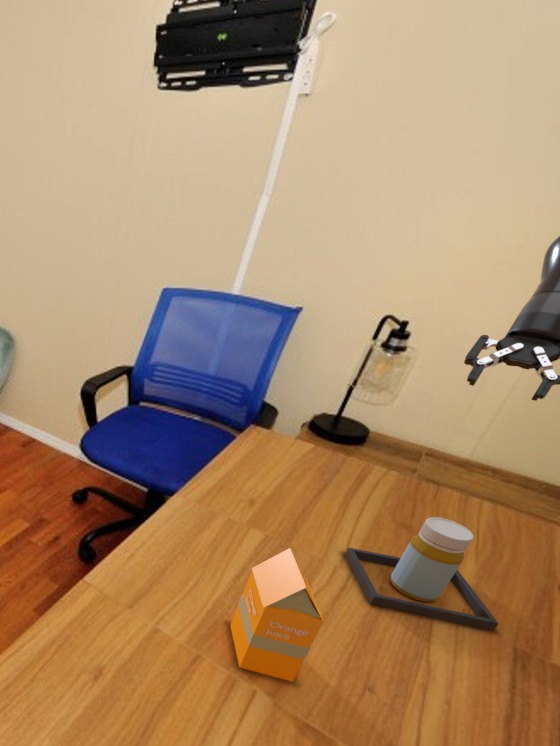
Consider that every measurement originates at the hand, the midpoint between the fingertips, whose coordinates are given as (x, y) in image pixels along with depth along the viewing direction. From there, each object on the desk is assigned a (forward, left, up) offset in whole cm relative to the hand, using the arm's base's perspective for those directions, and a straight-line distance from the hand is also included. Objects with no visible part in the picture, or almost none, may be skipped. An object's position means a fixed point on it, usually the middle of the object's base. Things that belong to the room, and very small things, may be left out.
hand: (502, 390), depth 97 cm
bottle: (+11, +24, -33) cm, 42 cm away
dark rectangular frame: (+11, +24, -34) cm, 43 cm away
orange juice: (+41, +49, -34) cm, 72 cm away
